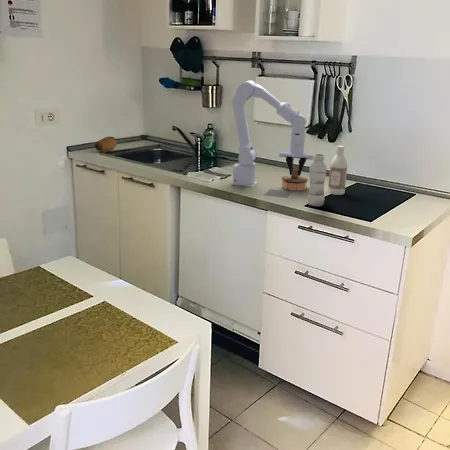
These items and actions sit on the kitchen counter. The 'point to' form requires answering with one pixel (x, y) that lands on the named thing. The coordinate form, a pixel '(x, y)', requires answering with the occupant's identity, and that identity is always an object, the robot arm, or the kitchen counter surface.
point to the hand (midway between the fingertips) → (295, 174)
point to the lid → (294, 177)
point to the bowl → (294, 185)
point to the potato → (106, 144)
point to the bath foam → (338, 173)
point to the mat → (278, 193)
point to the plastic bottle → (317, 181)
